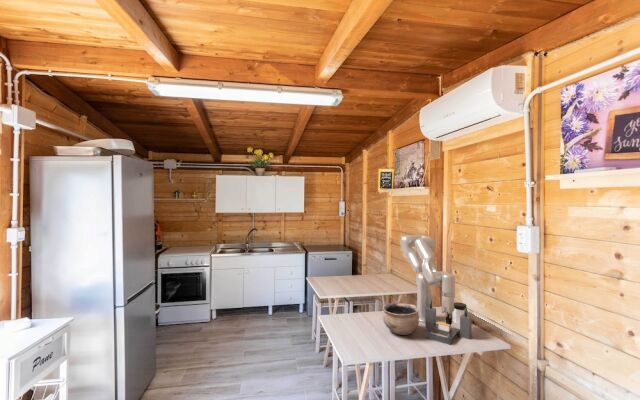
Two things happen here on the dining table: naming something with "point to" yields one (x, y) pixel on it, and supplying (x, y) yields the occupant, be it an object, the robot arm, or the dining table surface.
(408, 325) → the ceramic bowl
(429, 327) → the left plug adapter
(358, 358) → the dining table surface
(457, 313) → the jar
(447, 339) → the breaker panel
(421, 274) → the robot arm
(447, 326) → the block
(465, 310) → the right plug adapter
